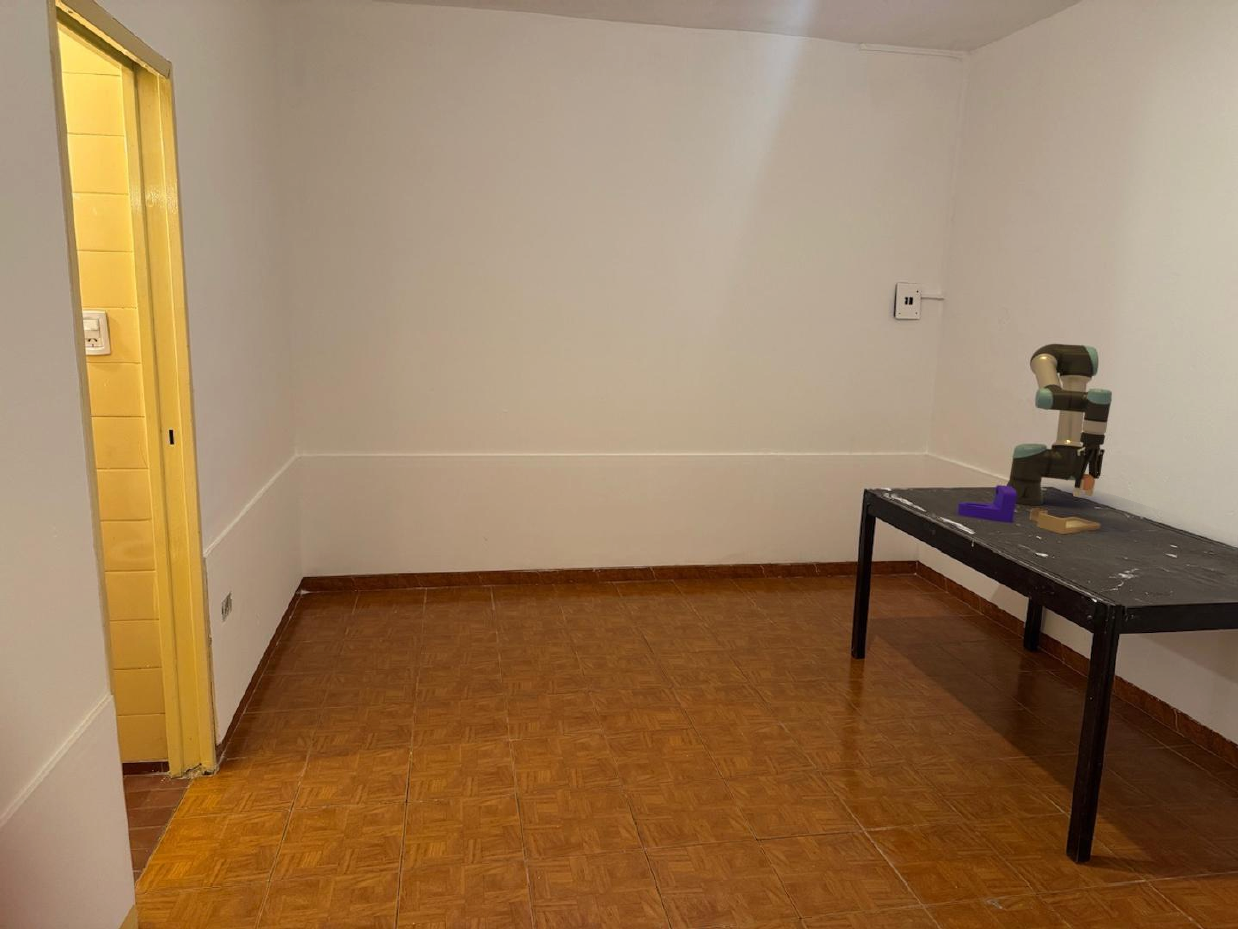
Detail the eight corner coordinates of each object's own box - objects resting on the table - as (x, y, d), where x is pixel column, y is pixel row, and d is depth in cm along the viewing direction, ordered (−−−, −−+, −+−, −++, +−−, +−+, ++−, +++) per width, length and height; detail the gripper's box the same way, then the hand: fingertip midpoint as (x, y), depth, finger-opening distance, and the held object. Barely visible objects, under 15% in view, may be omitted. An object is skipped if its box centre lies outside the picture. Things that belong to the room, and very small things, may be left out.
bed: (1073, 522, 320) (1075, 508, 319) (1099, 529, 312) (1101, 515, 311) (1036, 526, 310) (1039, 513, 309) (1062, 534, 301) (1065, 520, 300)
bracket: (1004, 515, 324) (1009, 485, 322) (1012, 523, 314) (1017, 491, 311) (954, 510, 327) (958, 480, 325) (960, 517, 317) (964, 486, 314)
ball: (1080, 488, 315) (1083, 471, 313) (1096, 491, 309) (1099, 475, 308) (1070, 488, 312) (1073, 472, 310) (1086, 492, 306) (1089, 476, 305)
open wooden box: (1036, 518, 322) (1037, 508, 321) (1046, 521, 319) (1047, 510, 318) (1029, 519, 320) (1031, 509, 319) (1039, 522, 317) (1040, 511, 316)
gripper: (1099, 430, 314) (1088, 492, 319) (1067, 431, 305) (1056, 495, 309) (1119, 433, 308) (1108, 497, 312) (1087, 434, 299) (1076, 500, 303)
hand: (1082, 496), depth 311 cm, fingers closed on ball, 6 cm apart
